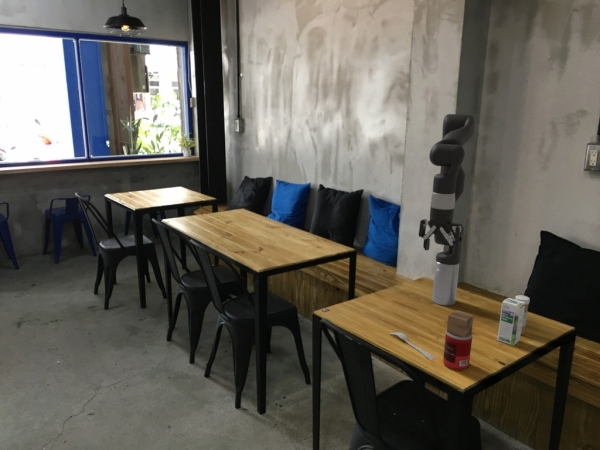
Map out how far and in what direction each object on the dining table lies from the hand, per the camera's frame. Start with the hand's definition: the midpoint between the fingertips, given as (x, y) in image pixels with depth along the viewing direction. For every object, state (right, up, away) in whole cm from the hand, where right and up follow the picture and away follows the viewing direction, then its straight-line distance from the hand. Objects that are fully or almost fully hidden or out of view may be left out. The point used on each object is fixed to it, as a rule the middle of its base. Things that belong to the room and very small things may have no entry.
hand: (438, 252), depth 160 cm
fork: (-9, -31, -1) cm, 33 cm away
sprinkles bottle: (+31, -29, +10) cm, 44 cm away
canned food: (+2, -34, -13) cm, 36 cm away
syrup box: (+25, -31, +3) cm, 40 cm away
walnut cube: (+2, -23, -15) cm, 28 cm away
